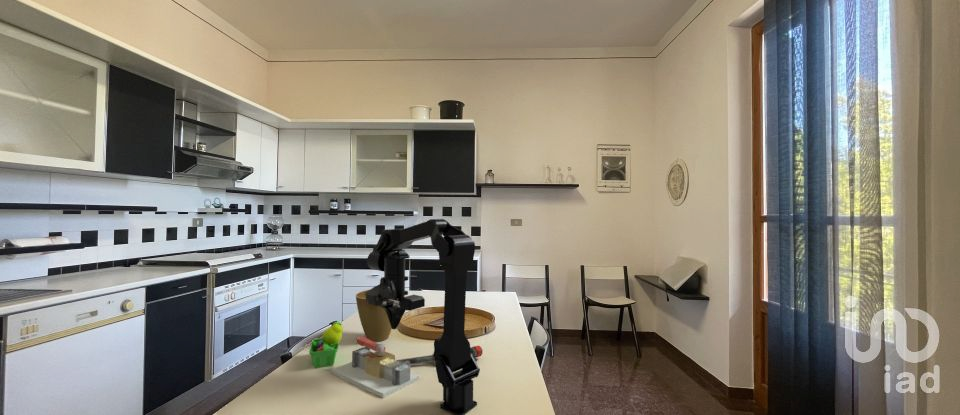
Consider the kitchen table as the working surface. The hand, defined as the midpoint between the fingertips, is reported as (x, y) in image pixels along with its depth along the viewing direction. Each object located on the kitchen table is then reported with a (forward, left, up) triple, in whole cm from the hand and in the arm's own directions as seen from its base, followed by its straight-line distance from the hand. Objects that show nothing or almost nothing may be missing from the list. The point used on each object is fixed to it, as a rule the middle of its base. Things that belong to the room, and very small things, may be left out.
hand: (394, 329), depth 102 cm
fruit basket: (+22, +7, -12) cm, 26 cm away
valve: (-5, -14, -13) cm, 19 cm away
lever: (+6, +4, -6) cm, 9 cm away
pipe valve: (+1, +4, -12) cm, 13 cm away
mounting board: (+2, +5, -12) cm, 13 cm away
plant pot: (+25, -14, -12) cm, 31 cm away
